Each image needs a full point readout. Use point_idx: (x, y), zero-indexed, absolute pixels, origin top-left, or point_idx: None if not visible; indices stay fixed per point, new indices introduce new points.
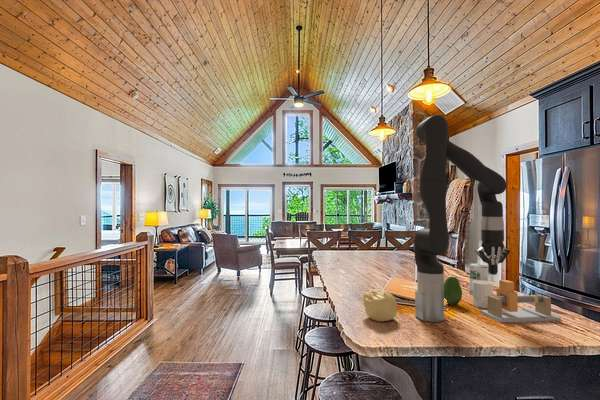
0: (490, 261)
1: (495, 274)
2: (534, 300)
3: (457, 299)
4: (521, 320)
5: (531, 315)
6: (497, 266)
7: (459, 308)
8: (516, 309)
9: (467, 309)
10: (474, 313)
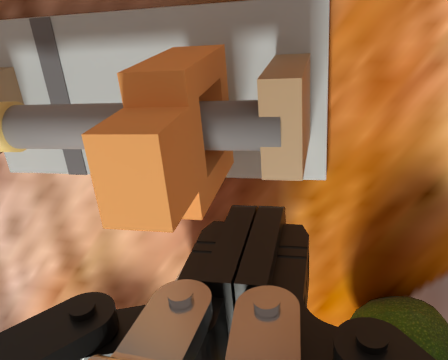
0: (301, 355)
1: (248, 207)
2: (13, 103)
3: (396, 304)
4: (185, 5)
5: (89, 67)
6: (181, 275)
7: (398, 253)
8: (174, 49)
9: (361, 232)
10: (371, 166)
